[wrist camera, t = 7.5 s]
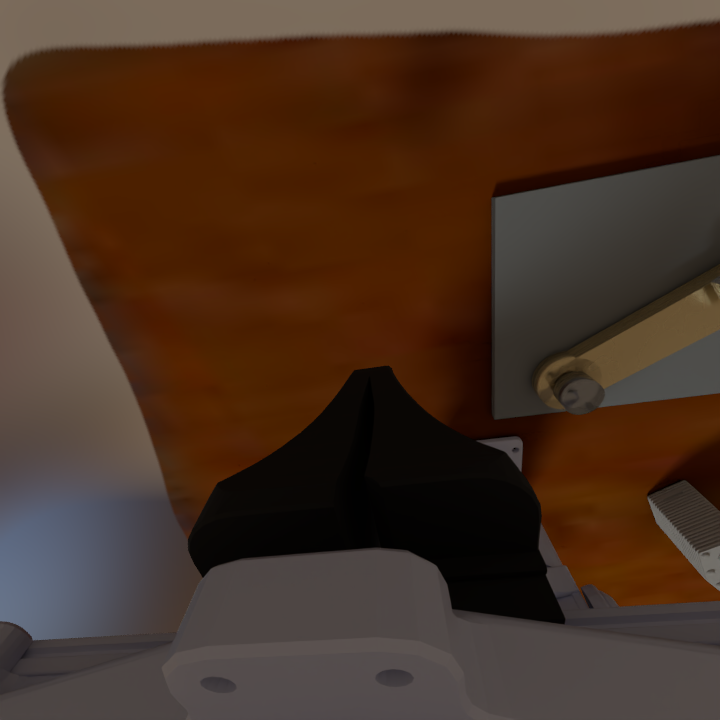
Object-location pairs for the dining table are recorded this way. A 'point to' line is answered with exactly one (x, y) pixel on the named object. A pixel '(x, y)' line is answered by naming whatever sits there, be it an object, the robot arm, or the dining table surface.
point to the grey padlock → (690, 526)
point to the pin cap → (578, 392)
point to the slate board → (600, 276)
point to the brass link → (637, 338)
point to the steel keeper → (716, 285)
